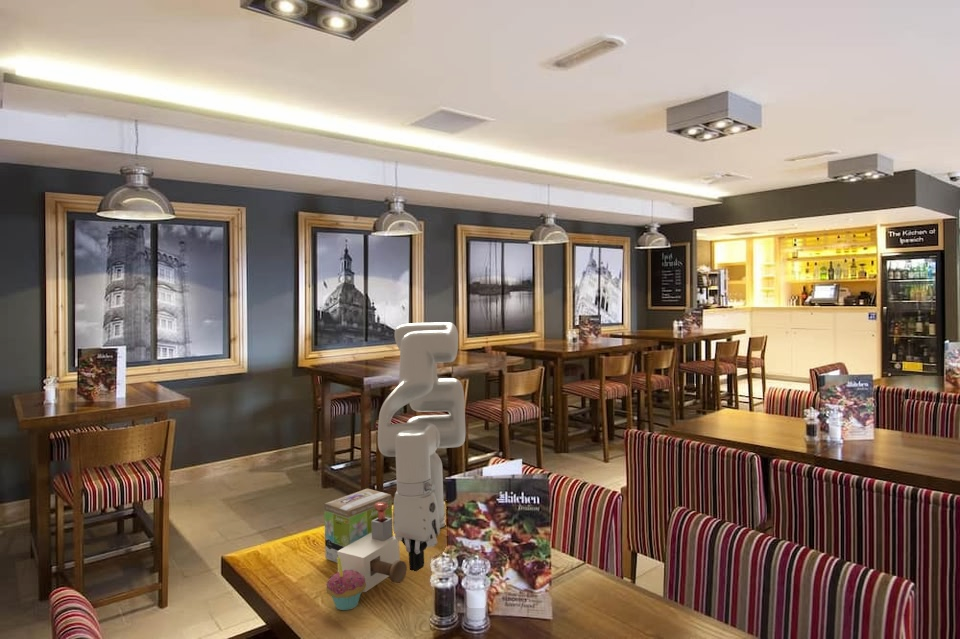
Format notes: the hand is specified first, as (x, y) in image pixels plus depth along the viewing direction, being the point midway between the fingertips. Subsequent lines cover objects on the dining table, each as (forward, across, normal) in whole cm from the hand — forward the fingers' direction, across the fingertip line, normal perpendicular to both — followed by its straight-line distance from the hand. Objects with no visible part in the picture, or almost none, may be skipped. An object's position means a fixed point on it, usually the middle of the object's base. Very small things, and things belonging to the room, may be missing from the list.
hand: (416, 568), depth 136 cm
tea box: (+6, +27, -12) cm, 31 cm away
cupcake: (+7, +12, +9) cm, 17 cm away
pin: (+4, +12, 0) cm, 12 cm away
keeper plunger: (-5, +16, -7) cm, 18 cm away
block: (+6, +16, -3) cm, 18 cm away
